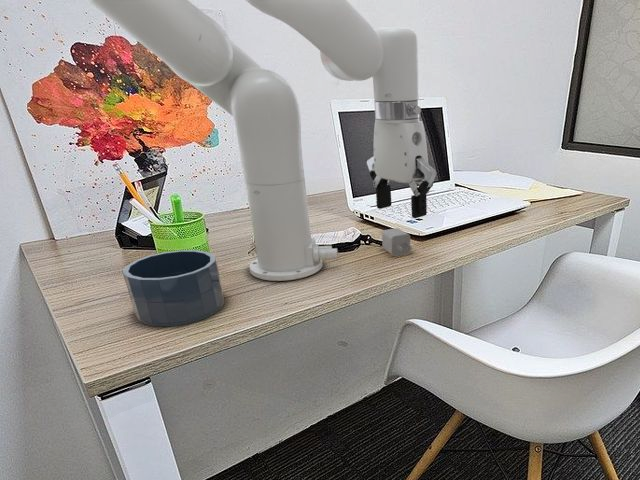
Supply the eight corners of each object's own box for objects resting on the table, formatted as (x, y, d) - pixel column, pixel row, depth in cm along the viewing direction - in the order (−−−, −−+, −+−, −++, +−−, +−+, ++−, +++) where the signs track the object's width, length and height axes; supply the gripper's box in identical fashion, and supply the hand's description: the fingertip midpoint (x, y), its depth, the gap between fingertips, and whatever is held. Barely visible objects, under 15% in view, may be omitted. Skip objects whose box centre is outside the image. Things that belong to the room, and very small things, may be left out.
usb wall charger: (400, 247, 95) (400, 227, 93) (416, 257, 90) (416, 237, 88) (382, 250, 93) (381, 230, 92) (397, 260, 88) (397, 240, 86)
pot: (205, 285, 78) (196, 244, 74) (237, 308, 70) (229, 264, 67) (126, 307, 70) (112, 263, 67) (152, 335, 63) (138, 287, 60)
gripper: (449, 112, 77) (448, 216, 85) (381, 109, 88) (386, 200, 96) (416, 116, 72) (418, 225, 80) (348, 112, 83) (356, 207, 91)
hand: (401, 211), depth 88 cm, fingers open, 9 cm apart
